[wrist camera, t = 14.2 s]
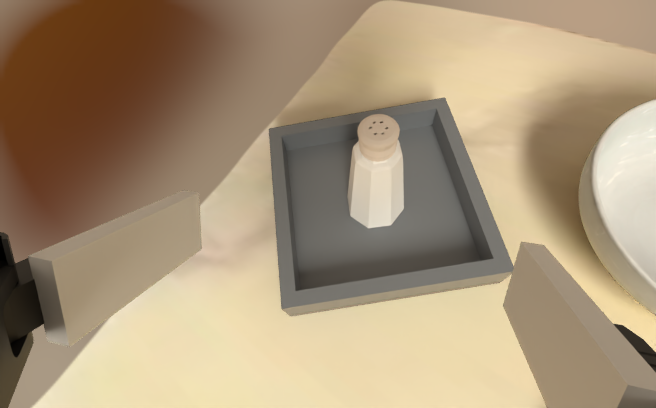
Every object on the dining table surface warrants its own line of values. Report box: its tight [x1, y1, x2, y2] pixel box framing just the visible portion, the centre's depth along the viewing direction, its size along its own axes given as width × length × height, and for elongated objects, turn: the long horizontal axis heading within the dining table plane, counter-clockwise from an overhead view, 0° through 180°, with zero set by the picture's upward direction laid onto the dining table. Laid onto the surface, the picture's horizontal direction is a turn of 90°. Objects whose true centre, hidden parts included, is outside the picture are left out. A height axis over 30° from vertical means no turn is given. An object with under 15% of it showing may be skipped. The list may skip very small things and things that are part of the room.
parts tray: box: [269, 98, 514, 316], centre depth 32 cm, size 18×18×4 cm
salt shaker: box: [347, 114, 404, 228], centre depth 28 cm, size 5×5×11 cm
